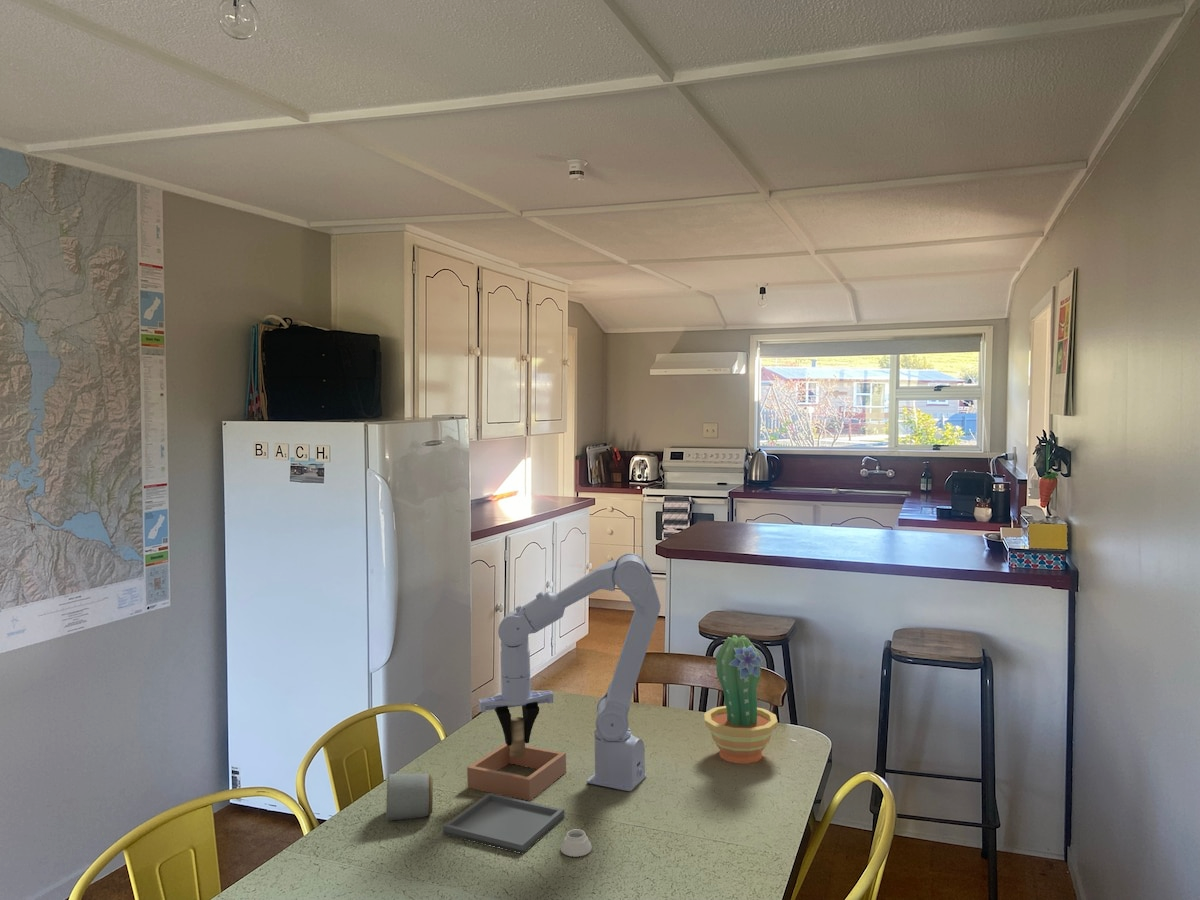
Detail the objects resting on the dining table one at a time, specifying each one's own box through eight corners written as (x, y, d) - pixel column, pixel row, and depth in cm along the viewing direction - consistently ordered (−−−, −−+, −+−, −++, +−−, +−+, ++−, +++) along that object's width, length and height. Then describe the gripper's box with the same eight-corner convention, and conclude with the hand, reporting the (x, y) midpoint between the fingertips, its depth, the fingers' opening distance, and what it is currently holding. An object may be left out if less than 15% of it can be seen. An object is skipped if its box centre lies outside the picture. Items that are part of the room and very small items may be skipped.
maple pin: (528, 753, 167) (527, 718, 167) (519, 759, 165) (519, 723, 164) (515, 751, 169) (514, 716, 168) (506, 756, 166) (506, 721, 166)
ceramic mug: (434, 822, 150) (433, 779, 149) (386, 828, 148) (385, 784, 148) (433, 798, 160) (432, 757, 160) (388, 802, 158) (387, 761, 158)
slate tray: (564, 817, 151) (564, 809, 151) (522, 854, 138) (522, 845, 138) (489, 800, 158) (489, 792, 158) (443, 834, 145) (442, 825, 145)
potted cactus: (695, 764, 173) (694, 642, 172) (713, 737, 187) (711, 625, 186) (771, 774, 167) (770, 649, 167) (783, 745, 182) (782, 630, 181)
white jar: (597, 849, 140) (574, 840, 143) (597, 832, 139) (574, 823, 143) (577, 862, 136) (554, 852, 139) (577, 844, 136) (554, 834, 139)
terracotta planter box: (566, 772, 170) (565, 752, 170) (529, 801, 157) (529, 780, 157) (507, 761, 176) (506, 742, 176) (467, 787, 164) (467, 767, 163)
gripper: (546, 664, 172) (547, 730, 173) (475, 672, 167) (476, 740, 168) (555, 674, 165) (557, 743, 166) (481, 683, 161) (483, 753, 161)
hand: (517, 742), depth 166 cm, fingers closed on maple pin, 3 cm apart
